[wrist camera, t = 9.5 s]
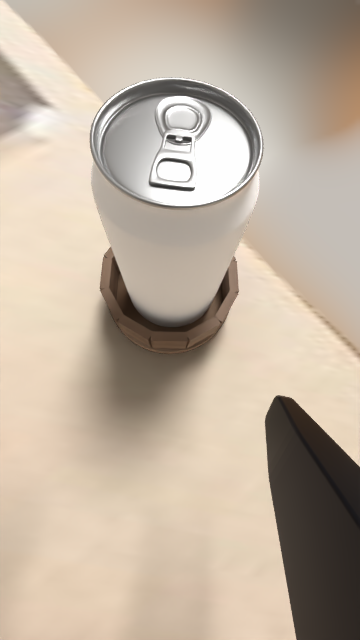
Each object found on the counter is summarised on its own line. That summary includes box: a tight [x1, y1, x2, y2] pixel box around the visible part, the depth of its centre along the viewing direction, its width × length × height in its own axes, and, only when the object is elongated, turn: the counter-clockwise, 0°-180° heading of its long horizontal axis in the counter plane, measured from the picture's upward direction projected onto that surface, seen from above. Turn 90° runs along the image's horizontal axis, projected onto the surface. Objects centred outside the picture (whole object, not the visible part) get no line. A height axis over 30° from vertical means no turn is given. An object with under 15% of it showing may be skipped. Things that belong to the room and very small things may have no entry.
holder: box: [100, 247, 239, 354], centre depth 19 cm, size 10×10×4 cm
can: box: [90, 77, 263, 327], centre depth 14 cm, size 6×6×12 cm
